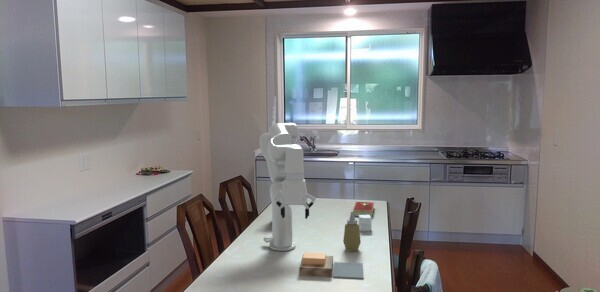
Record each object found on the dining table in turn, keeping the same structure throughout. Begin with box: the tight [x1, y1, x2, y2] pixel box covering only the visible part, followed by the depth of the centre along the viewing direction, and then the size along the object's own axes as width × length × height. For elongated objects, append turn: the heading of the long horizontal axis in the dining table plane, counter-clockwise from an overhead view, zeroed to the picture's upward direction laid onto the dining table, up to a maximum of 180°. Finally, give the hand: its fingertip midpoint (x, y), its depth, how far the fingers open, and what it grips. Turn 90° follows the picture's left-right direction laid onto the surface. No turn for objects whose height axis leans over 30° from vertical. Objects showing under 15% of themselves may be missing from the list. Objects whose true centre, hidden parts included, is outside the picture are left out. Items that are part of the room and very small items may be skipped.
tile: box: [302, 251, 327, 265], centre depth 170 cm, size 9×6×2 cm, turn 83°
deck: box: [298, 254, 334, 278], centre depth 170 cm, size 13×13×4 cm
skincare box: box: [358, 215, 373, 232], centre depth 221 cm, size 6×6×7 cm
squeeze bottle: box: [343, 211, 362, 252], centre depth 191 cm, size 8×8×18 cm
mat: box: [332, 261, 365, 280], centre depth 169 cm, size 12×14×1 cm
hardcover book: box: [352, 201, 375, 218], centre depth 254 cm, size 12×21×4 cm, turn 167°
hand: (295, 217), depth 170 cm, fingers open, 9 cm apart
